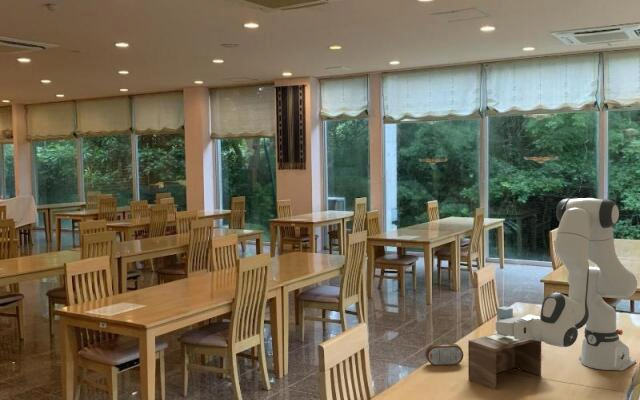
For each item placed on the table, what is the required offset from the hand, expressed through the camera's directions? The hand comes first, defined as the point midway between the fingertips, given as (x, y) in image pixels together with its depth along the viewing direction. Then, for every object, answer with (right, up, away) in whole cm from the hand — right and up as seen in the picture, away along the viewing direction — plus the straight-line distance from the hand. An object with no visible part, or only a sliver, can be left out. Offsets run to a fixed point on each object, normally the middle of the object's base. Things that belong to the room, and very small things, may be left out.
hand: (503, 319), depth 239 cm
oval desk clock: (-19, -22, +17) cm, 33 cm away
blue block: (+1, -6, 0) cm, 6 cm away
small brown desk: (+1, -22, +1) cm, 22 cm away
